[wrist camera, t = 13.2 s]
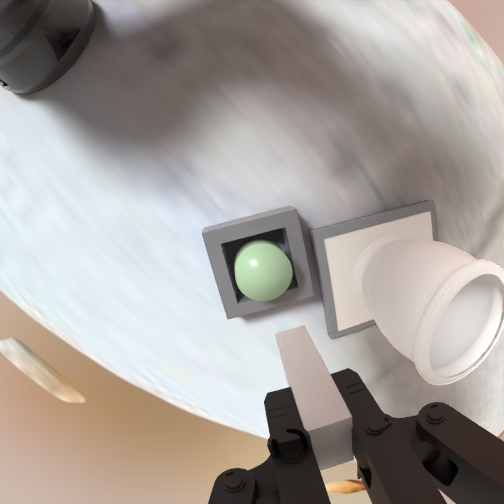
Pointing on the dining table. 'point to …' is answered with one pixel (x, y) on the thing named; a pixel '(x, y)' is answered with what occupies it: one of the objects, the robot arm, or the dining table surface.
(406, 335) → the jar
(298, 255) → the button housing
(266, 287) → the button
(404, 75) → the dining table surface
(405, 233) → the board
